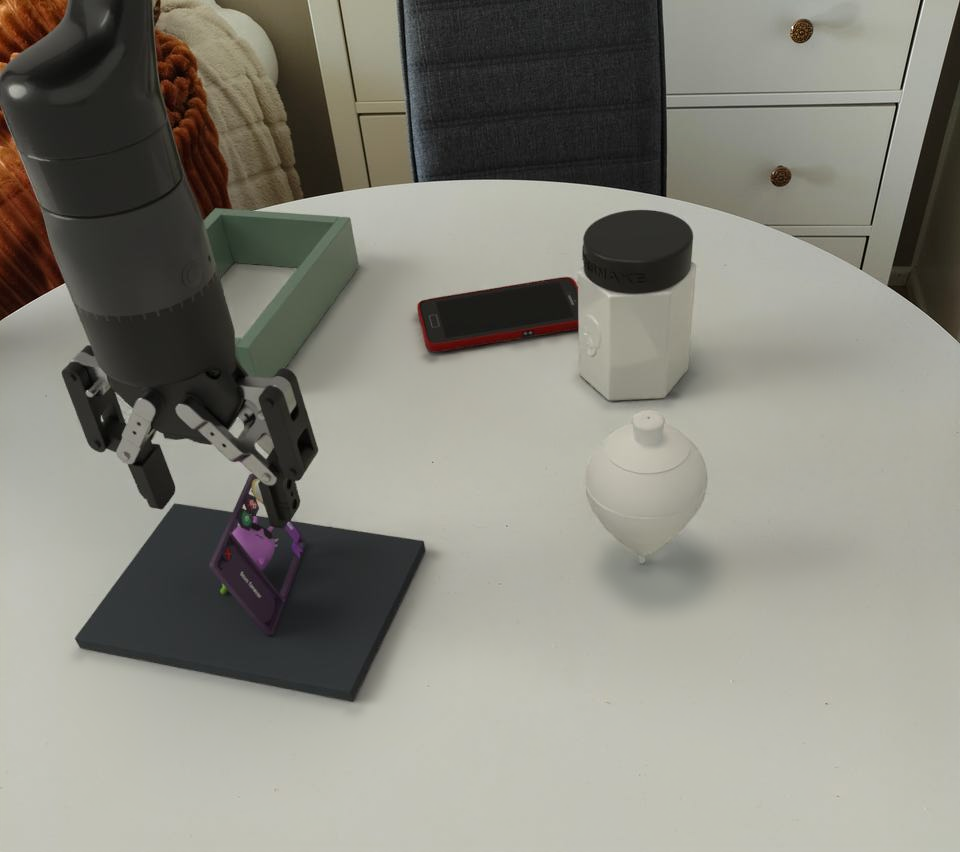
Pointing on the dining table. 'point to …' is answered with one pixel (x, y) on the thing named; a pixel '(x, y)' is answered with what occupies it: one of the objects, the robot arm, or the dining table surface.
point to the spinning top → (646, 482)
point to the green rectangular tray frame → (307, 294)
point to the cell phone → (499, 314)
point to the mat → (227, 626)
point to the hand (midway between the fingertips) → (222, 509)
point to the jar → (635, 304)
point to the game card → (253, 561)
